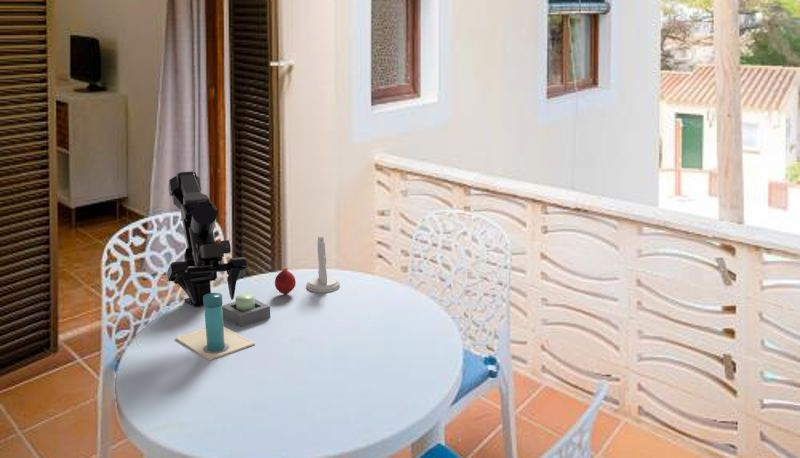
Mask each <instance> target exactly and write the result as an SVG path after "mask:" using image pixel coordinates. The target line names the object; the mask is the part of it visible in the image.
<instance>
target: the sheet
mask: <svg viewBox="0 0 800 458" xmlns="http://www.w3.org/2000/svg"><path fill="white" fill-rule="evenodd" d="M174 338H175V339H174V340H176V341H178V342H179V343H181V344H183V345H184V346H186V347H187V348H189V349H191V350H192V351H194V352H196V353H197V354H199V355H200V356H202V357H204V358H205V359H207V360H208V361H213V360H215V359H218V358H220V357H224V356H226V355H230V354H232V353H236V352H238V351H241V350H243V349H247V348H249V347H252V346H255V345H256V343H255V342H253V341H252V340H250V339H248V338H246V337H244V336H242V335H240V334H239V333H237V332H235V331H234V330H232V329H229V328H228V327H226V326H224V342H225V348H224V349H223V350H221V351H217V352H211V351H208V350H207V339H206V327H205V328H202V329H198V330H195V331H191V332H189V333H185V334H182V335H179V336H175V337H174Z"/></svg>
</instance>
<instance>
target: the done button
mask: <svg viewBox="0 0 800 458" xmlns="http://www.w3.org/2000/svg"><path fill="white" fill-rule="evenodd" d="M255 300H256V297H255V295H254V294H252V293H241V294H238V295H236V296H235V302H236V310H238V311H240V312H245V311H248V310H251V309H255Z"/></svg>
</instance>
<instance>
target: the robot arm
mask: <svg viewBox="0 0 800 458" xmlns="http://www.w3.org/2000/svg"><path fill="white" fill-rule="evenodd" d="M200 179H201V178H200V177H199V176H198V175H197V173H196V171H194V170H193V171H191V170H190V171H179V172H177V173H176V176H173V177H172V178H170V179H169V180H168V192H169V193H168V195H169V196H170V197H171V198H172V202H173V205H175V207H177V208H178V209H179V210H180V215H181V221H182V227H183V231H184V237H185V243H186V249H185V252H184V254H183V261H172V262H171V263H170V264H169V267H168V269H167V271H166V274H167V281H168V282H173V283H174V284H175V285H178V286H179V287H181V289H182V290H183V291H184V292H185V294H186V295H187V296H188V297H187V298H184V299H183V300H184V302H186V303H187V304H189V305H192V306H193V307H200V306H204V303H203V296H204V295H205V294H208V293H212V290H211V289H212V288H211V282H212V281H214V282H216V280H217V279H218V272H226V274H227V275H228V276H227V277H226V280H227V285H228V286H227V287H228V292H229V297H230V299H231V300H232V301H233V300H234V298H235V292H236V286H237V281H238V279H240V277H241V276H243V275H244V274H245V273H246V271H247V269H248V268H249V263H248V260H247V259H246V258H245V257H232V258H230V259H229V261H228V262H226V263H220V262H222V260H223V258H224V257H225V255H227V254H230V253H231V251H232V249H231V242H230V240H229V239H227V240H226V239H225V240H221V241H219V243H218V242H217V241H216V239H215V233H214V231H215V228H216V223H217V217H218V213H219V212H218V210H219V209H217V207H216V205H214V203H213V201H211V200H210V197H209V196H208V195H207V194H205V193H202V192H201V190H202V188H201V187H202V186H201V180H200ZM224 254H225V255H224ZM231 300H230V301H231Z"/></svg>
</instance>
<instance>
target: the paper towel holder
mask: <svg viewBox="0 0 800 458" xmlns="http://www.w3.org/2000/svg"><path fill="white" fill-rule="evenodd" d="M325 243H326V242H325V240H324V236H323V235H319V236H318V237H317V258H318V259H317V260H318V271H317V272H318V276H314V277H312V278H310V279H309V280H308V281H307V282H306V284H305V286H306V290H308V291H310V292H315V293H330V292H334V291H337V290H339V289H340V287H341V284H340V281H339V280H338V278H336V277H333V276H329V275H328V273H327V255H326V254H327V253H326V244H325Z"/></svg>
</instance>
